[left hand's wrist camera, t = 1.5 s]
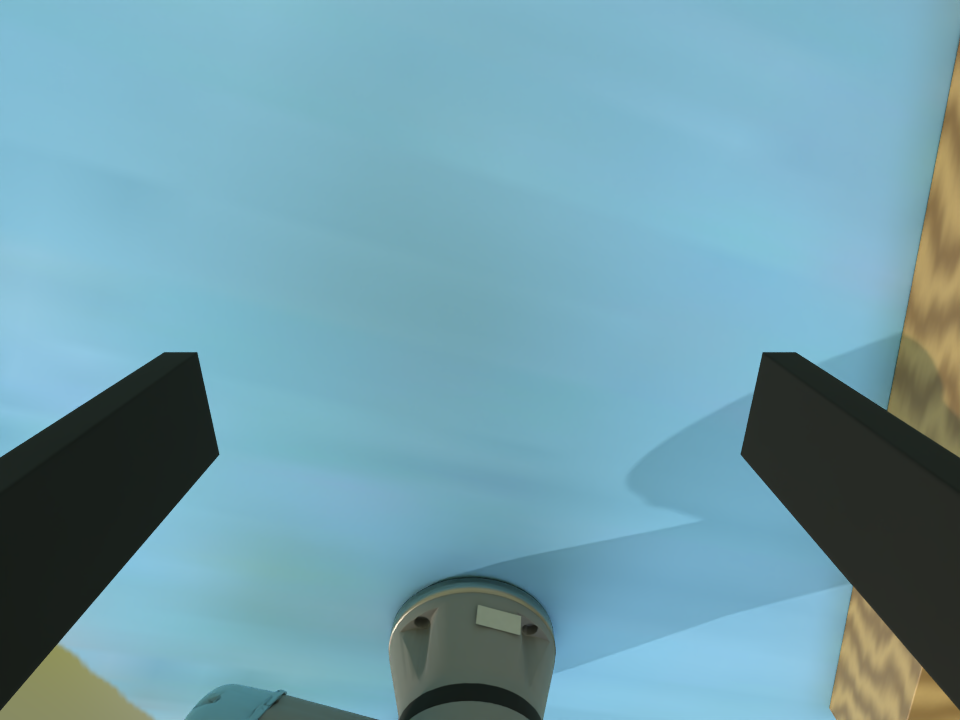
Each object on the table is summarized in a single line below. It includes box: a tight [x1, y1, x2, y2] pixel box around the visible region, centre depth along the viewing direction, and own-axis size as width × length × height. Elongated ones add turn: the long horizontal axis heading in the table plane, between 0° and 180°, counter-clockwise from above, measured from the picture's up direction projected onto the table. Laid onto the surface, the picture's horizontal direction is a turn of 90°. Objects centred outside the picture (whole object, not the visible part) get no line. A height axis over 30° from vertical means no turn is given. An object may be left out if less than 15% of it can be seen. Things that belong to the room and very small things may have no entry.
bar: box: [830, 40, 960, 720], centre depth 37 cm, size 64×4×8 cm, turn 7°
